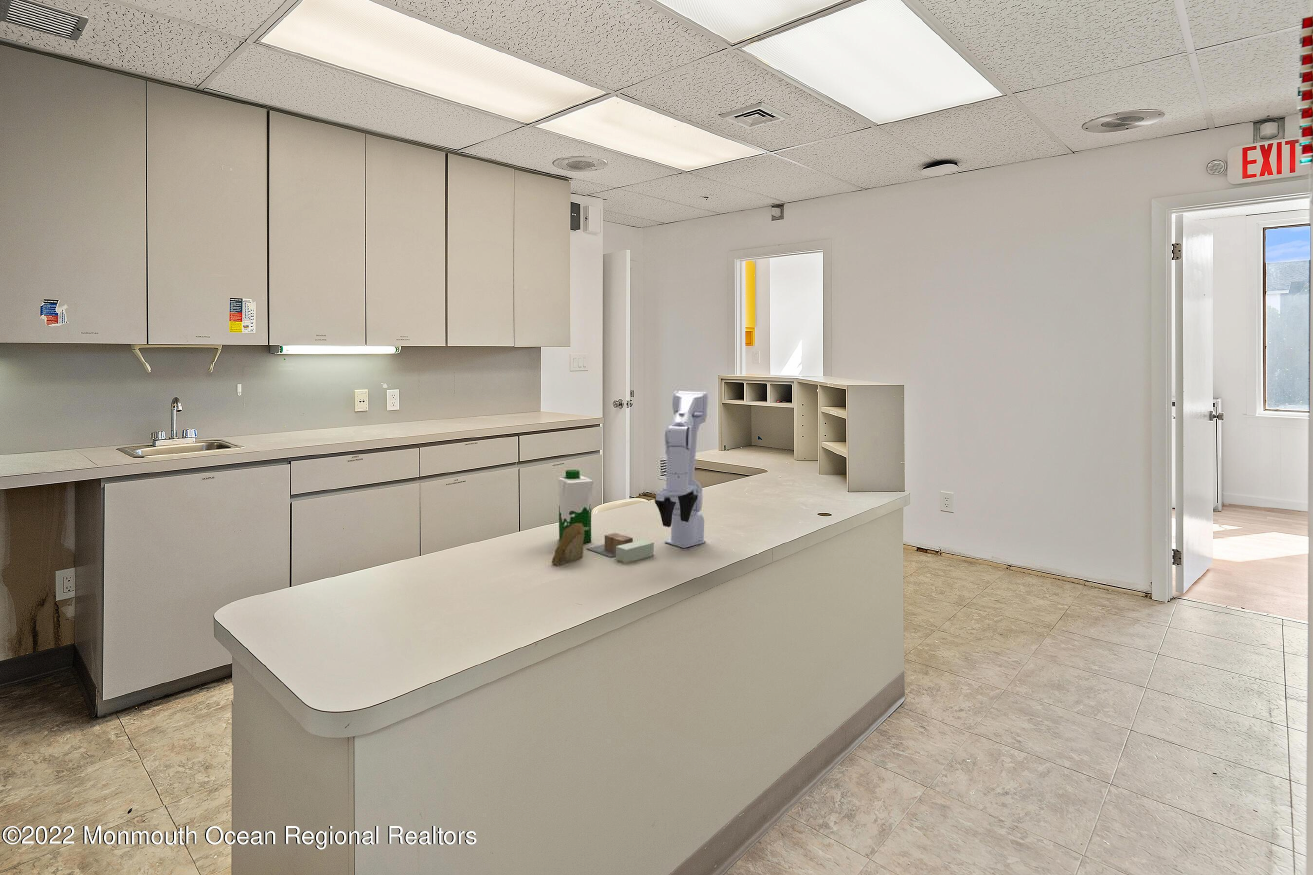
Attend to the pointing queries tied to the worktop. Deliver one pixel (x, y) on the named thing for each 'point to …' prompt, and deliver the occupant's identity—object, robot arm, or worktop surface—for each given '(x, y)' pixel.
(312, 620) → the worktop surface
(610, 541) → the walnut block
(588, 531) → the milk carton
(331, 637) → the worktop surface
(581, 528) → the rock
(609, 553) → the mat
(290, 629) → the worktop surface
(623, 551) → the pale green rectangular block
